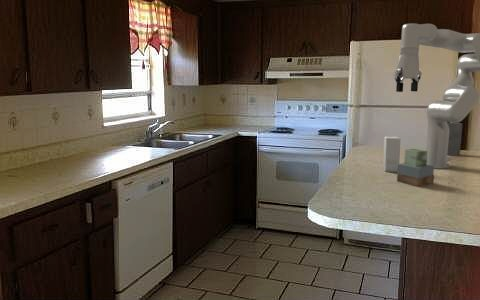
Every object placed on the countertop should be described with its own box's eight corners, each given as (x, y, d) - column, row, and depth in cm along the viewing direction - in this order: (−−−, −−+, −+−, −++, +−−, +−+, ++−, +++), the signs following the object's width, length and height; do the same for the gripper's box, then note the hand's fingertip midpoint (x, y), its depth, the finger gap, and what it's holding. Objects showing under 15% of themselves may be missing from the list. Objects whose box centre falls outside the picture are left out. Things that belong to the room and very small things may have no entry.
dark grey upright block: (429, 154, 251) (432, 118, 247) (430, 152, 256) (433, 117, 252) (459, 156, 244) (463, 119, 241) (459, 154, 249) (462, 118, 246)
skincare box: (399, 172, 204) (401, 138, 202) (383, 171, 206) (385, 138, 203) (396, 168, 212) (398, 136, 210) (382, 168, 214) (383, 135, 211)
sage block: (415, 162, 189) (416, 148, 188) (426, 165, 184) (427, 150, 183) (404, 163, 186) (405, 149, 185) (415, 166, 181) (416, 152, 180)
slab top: (412, 170, 192) (412, 161, 192) (433, 175, 184) (434, 165, 184) (397, 173, 187) (397, 164, 186) (418, 178, 179) (419, 168, 178)
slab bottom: (413, 179, 193) (413, 170, 192) (433, 184, 185) (434, 175, 184) (396, 182, 188) (397, 173, 187) (416, 187, 180) (417, 178, 179)
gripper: (415, 53, 207) (412, 90, 210) (389, 52, 198) (386, 91, 201) (429, 52, 200) (426, 91, 203) (403, 51, 192) (400, 92, 195)
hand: (406, 91), depth 202 cm, fingers open, 9 cm apart
